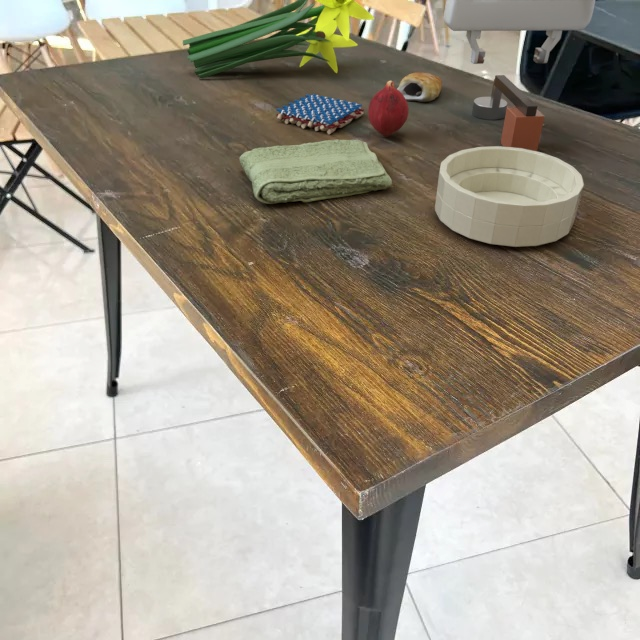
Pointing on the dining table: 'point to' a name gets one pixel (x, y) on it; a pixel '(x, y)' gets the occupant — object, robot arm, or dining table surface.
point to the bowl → (508, 195)
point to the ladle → (502, 101)
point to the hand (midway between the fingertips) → (508, 62)
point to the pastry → (420, 87)
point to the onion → (388, 110)
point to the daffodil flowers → (278, 36)
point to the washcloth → (313, 171)
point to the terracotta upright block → (522, 129)
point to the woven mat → (320, 113)
